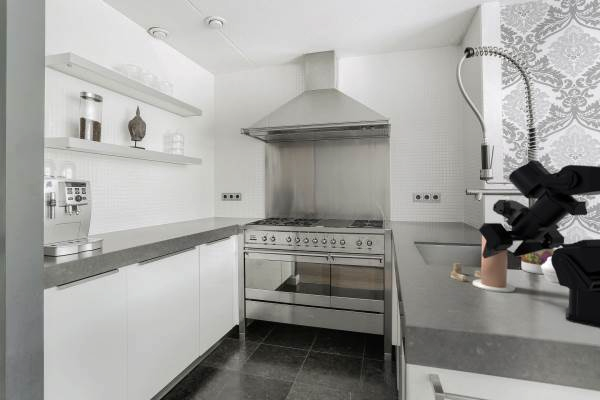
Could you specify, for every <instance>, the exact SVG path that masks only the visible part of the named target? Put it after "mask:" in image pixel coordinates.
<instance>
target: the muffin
mask: <svg viewBox="0 0 600 400" xmlns="http://www.w3.org/2000/svg"><path fill="white" fill-rule="evenodd" d="M551 258H552V257H549V258H547V261H546V262H545V263H544V264H542V265H541V269H542V270H543V271H542V272H543V274H542V275H544V277H545V279H546V281H548V282H551V283H554V284H556V283H557V284H559V281H558V278H557V275H556V272H555V269H554V268H553V266H552V262H551Z"/></svg>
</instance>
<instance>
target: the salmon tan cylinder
mask: <svg viewBox="0 0 600 400" xmlns="http://www.w3.org/2000/svg"><path fill="white" fill-rule="evenodd" d="M485 244H486V239H485V238H484V237H483V235H482V234H481V265H480V268H481V269H480V270H481V278H480V279H481V284H483V285H486V286H490V287H496V288H505V287H507V282H508V280H507V279H508V278H507V277H508V250H509V248H507V251H505V252H502V253H499V254H497V255H494V256H491V257H488V258H484V257H483V256H482V254H483V250H484V247H485Z"/></svg>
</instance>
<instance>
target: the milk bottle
mask: <svg viewBox="0 0 600 400" xmlns="http://www.w3.org/2000/svg"><path fill="white" fill-rule="evenodd" d="M522 242H523V241H521V243H522ZM553 251H555V248H552V249H549V250H544V251H540V252H536V253H531V254H527V255H523V256H521V261H520V262H521V264H520V265H521V270H522V271H524V272H528V273H533V274H538V275H544V274H543V272H542V271H543V270H542V269H541V265H542V264H544V263H545V262H546V261H547V258H549V257H552V255H553Z"/></svg>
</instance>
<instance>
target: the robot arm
mask: <svg viewBox="0 0 600 400" xmlns="http://www.w3.org/2000/svg"><path fill="white" fill-rule="evenodd" d="M508 180H509V181H510V183H511V184H512V185H513V186H514V187H515V188H516V189H517V190H518V191H519V192H520V193H521V194H522V195H523V197H525V199H535V200H536V201H534V202H533V204H532V205H530V206H527V205H524V204H522V203H521V202H518V201H516V200H512V199H510V200H508V199H498V200H497V201H496V202H494V204H493V207H492V211H493V212H494V213H496V214H497V215H500V216H502V217H503V218H505V219H507V220H506V224H507V225H508V226H511V229H510V230H507V229H506V227H505V226H504V225H503V224H502V223H501V222H483V224H482V225H480V227H479V229H478V231H479V233H480V234H481V236H482V235H483V237H484V238H485V239H486V244H485V247H484V250H483V254H482V253H481V257H482V256H483V257H484V258H488V257H491V256H494V255H497V254H499V253H502V252H505V251H507V252H508V250H507V248H508V249H509V248H511V247H512V246H513V245H514V242H521V243H520V244H519V245H518V246H517V247H516V249H514V252H513V253H512V255H513V256H514V258H519V257H522V256H523V255H527V254H531V253H536V252H540V251H544V250H549V249H552V248H554V251H553V255H552V258H551V262H552V266H553V268H554V269H555V272H556V275H557V278H558V281H559V283H558V284H559V285H560V286H561V287H566V288H567V289H568V308H565V320H566V321H569V322H575V323H580V324H584V325H588V326H589V325H590V326H593V327H598V328H600V238H597V239H596V238H595V239H594V238H592V239H581V240H578V241H575V242H573V243H565V236H564V235H563V234H562V233H561V232H560V231H559V230H558V229H559V228H560V227H559V225H558V224H559V223H560V222H561V221H562V220H563V219H565V218H566V217H567V216H568V215H569V214H570V215H571V216H587V215H588V209H587V206H586V205H587V202H586V201H583V200H581V201H579V200H578V199H577V198H575V197H574V196H599V195H600V166H599V165H585V164H584V165H583V164H581V165H579V164H568V165H564V166H563V167H561V169H559V171H557V172H553V173H551V172H550V171H549V170H547V168H545V166H544V165H543V164H542V163H541V162H540V161H539V160H529V161H528V163H526V164H523V165H521V166H519V167H517V168H516V169H515V170H512V171H511V173H510V174H509V177H508ZM522 241H523V242H522Z"/></svg>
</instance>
